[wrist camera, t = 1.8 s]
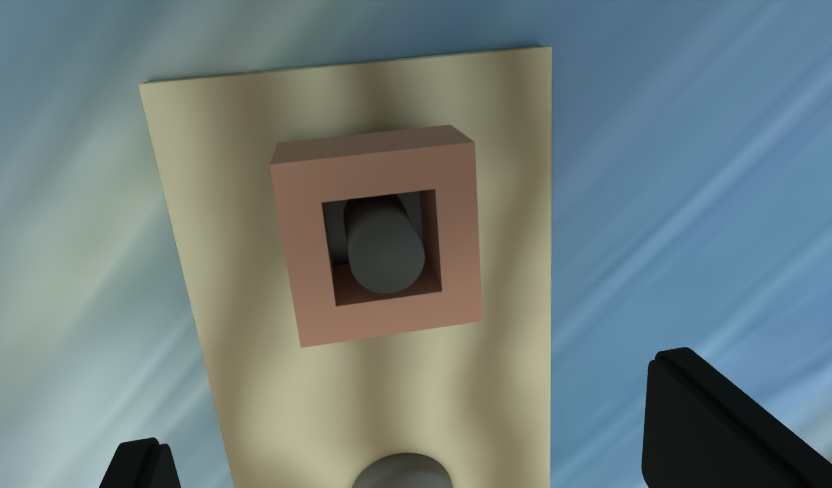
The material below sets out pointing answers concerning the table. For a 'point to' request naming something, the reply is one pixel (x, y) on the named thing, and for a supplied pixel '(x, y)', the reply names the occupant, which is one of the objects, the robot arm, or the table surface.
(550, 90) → the board
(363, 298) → the collar
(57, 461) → the table surface
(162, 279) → the table surface
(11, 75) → the table surface
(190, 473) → the table surface
